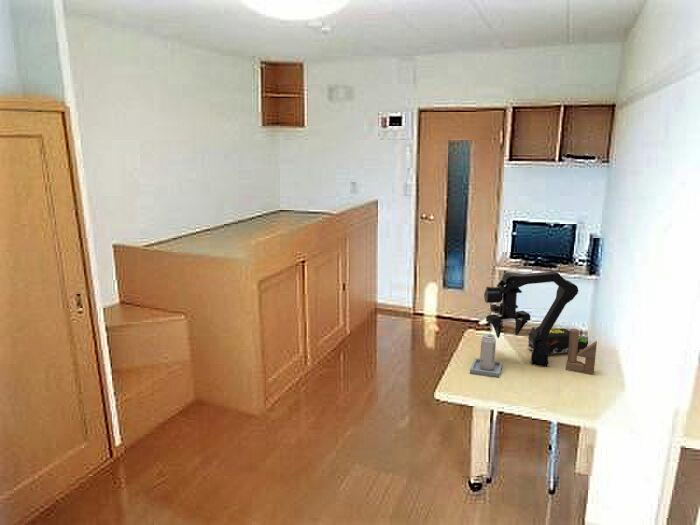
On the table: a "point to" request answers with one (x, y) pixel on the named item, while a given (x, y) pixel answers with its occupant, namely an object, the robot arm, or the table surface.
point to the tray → (478, 371)
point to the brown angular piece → (586, 352)
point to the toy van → (561, 341)
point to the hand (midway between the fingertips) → (507, 336)
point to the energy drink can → (487, 352)
